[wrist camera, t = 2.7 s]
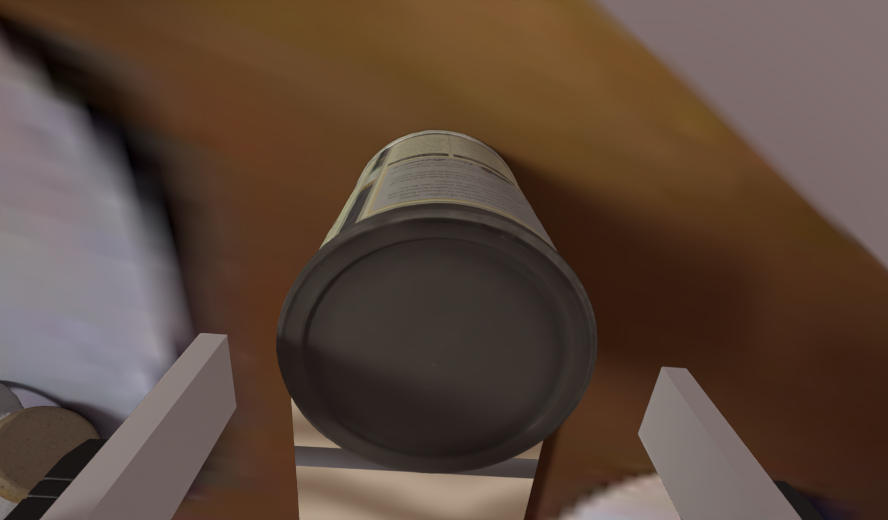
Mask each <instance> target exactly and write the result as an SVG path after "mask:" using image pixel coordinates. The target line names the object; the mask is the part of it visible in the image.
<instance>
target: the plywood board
mask: <svg viewBox="0 0 888 520" xmlns="http://www.w3.org/2000/svg"><path fill="white" fill-rule="evenodd" d="M291 400H292V415H293V429H294V444H295V446H294V447H295V461H296V473H297V487H298V502H299V516H300V520H524V516H525V512H526V508H527V504H528V500H529V496H530V492H531V488H532V484H533V480H534V477H535V473H536V469H537V464H538V459H539V455H540V451H541V447H542V443H543V441H542V442H540V443H539V444H537V445H535V446H534V447H532V448H530V449H529V450H527V451H525V452H523V453H522V454H520V455H518V456H516V457H513V458H511V459H509V460H507V461H504V462H501V463H498V464H495V465H492V466H489V467H485V468H481V469H477V470H471V471H463V472H458V473H441V474H429V473H416V472H407V471H401V470H396V469H391V468H387V467H384V466H380V465H378V464H375V463H372V462H370V461H367V460H365V459H362V458H360V457H358V456H356V455H354V454H352V453H350V452H348V451H346V450H344V449H342V448H340V447H339V446H338V445H336V444H335V443H333V442H332V441H331V440H329V439H327V438H326V437H324V435H323V434H321V433H320V432H319V431H317V430H316V429H315V428H314V427H313V426H312V425H311V424H310V422H309V421H308V420H307V419H306V418H305V417H304V416H303V415H302V413H301V412H300V410H299V409H298V407H297V406H296V405H295V403H294V401H293V399H292V397H291Z"/></svg>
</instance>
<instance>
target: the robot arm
mask: <svg viewBox="0 0 888 520" xmlns="http://www.w3.org/2000/svg"><path fill="white" fill-rule="evenodd" d="M235 409H236V400H235V393H234V385H233V377H232V370H231V362H230V354H229V347H228V339H227V335H221V334H207V333H200V334H199V335H198V337H197V338H196V339H195V340H194V341H193V342H192V344H191V345H190V346H189V347H188V348H187V349H186V351H185V352H184V353H183V354H182V355H181V356H180V358H179V359H178V360H177V361H176V362H175V363H174V364H173V366H172V367H171V368H170V369H169V370H168V371H167V373H166V374H165V375H164V376H163V377H162V378H161V380H160V381H159V382H158V383H157V384H156V385H155V387H154V388H153V389H152V390H151V391H150V392H149V393H148V395H147V396H146V397H145V398H144V399H143V400H142V402H141V403H140V404H139V405H138V406H137V407H136V409H135V410H134V411H133V412H132V413H131V414H130V416H129V417H128V418H127V419H126V420H125V421H124V422H123V424H122V425H121V426H120V427H119V428H118V429H117V431H116V432H115V433H114V434H113V435H112V436H111V438H110V439H109V440H105V439H88V440H86V441H85V442H83V443H82V444H80V445H79V446H77V447H76V448H74V449H73V450H71V451H70V452H68V453H67V454H65V455H64V456H63V457H62V458H61V459H60V460H59V461H58V462H57V463H56V464H55V465H54V466H53V468H52V469H51V470H50V471H49V472H48V473H47V474H46V475H45V476H44V479H43V481H39V482H38V483H37V485H36V486H35V487H34V488H33V489H32V490H31V491H30V492H29V493H28V496H27V498H26V499H22V501H21V502H20V503H19V504H18V505H17V506H16V507H15V508H14V509H13V510H12V511H11V512H10V513H9V514H8V515H7V516H6V518H5V519H4V520H171V518H172V517H173V515H174V513H175V512H176V510H177V508H178V506H179V505H180V503H181V501H182V500H183V498H184V496H185V494H186V493H187V491H188V489H189V488H190V486H191V484H192V482H193V481H194V479H195V477H196V475H197V474H198V472H199V470H200V469H201V467H202V465H203V463H204V462H205V460H206V458H207V457H208V455H209V453H210V451H211V450H212V448H213V446H214V445H215V443H216V441H217V439H218V438H219V436H220V434H221V433H222V431H223V429H224V427H225V426H226V424H227V422H228V421H229V419H230V417H231V415H232V414H233V412H234V410H235ZM638 435H639V437H640V439H641V441H642V443H643V445H644V447H645V449H646V451H647V453H648V455H649V457H650V459H651V461H652V463H653V465H654V466H655V468H656V470H657V472H658V474H659V476H660V478H661V480H662V482H663V484H664V486H665V488H666V490H667V492H668V494H669V496H670V498H671V500H672V502H673V504H674V506H675V508H676V510H677V512H678V514H679V516H680V518H681V520H824V519H823V518H822V517H821V515H820V514H819V513H818V512H817V511H816V509H815V508H814V507H813V506H812V504H811V503H810V502H809V501H808V500H807V499H806V498H805V497H803V496H802V495H801V494H800V493H799V492H797V491H796V490H795V489H794V488H792V487H791V486H790V485H789V484H788V483H786V482H783V481H772V480H771V478H770V477H769V476H768V475H767V473H766V472H765V471H764V469H763V468H762V467H761V465H760V464H759V463H758V461H757V460H756V459H755V458H754V456H753V455H752V454H751V452H750V451H749V450H748V448H747V447H746V446H745V444H744V443H743V442H742V441H741V439H740V438H739V437H738V435H737V434H736V433H735V431H734V430H733V429H732V427H731V426H730V425H729V424H728V422H727V421H726V420H725V418H724V417H723V416H722V414H721V413H720V412H719V410H718V409H717V408H716V407H715V405H714V404H713V403H712V401H711V400H710V399H709V397H708V396H707V395H706V394H705V392H704V391H703V390H702V388H701V387H700V386H699V384H698V383H697V382H696V380H695V379H694V378H693V377H692V375H691V374H690V373H689V371H688V370H687V369H686V368H673V367H662V368H661V371H660V373H659V376H658V379H657V382H656V385H655V387H654V390H653V393H652V396H651V399H650V402H649V404H648V407H647V410H646V413H645V416H644V418H643V421H642V424H641V427H640V430H639V433H638Z"/></svg>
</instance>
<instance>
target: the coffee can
mask: <svg viewBox="0 0 888 520" xmlns="http://www.w3.org/2000/svg"><path fill="white" fill-rule="evenodd" d="M597 345H598V339H597V326H596V320H595V315H594V311H593V308H592V305H591V302H590V300H589V297H588V295H587V292H586V291H585V289H584V287H583V285H582V283H581V282H580V280H579V278H578V276H577V275H576V274H575V272H574V271H573V269H572V268H571V267H570V266H569V265H568V263H567V262H566V261H565V260H564V259H563V257H562V256H561V255H560V254H559V253H558V252H557V250H556V248H555V247H554V245H553V243H552V241H551V240H550V238H549V236H548V235H547V233H546V231H545V230H544V228H543V226H542V225H541V223H540V221H539V220H538V218H537V216H536V215H535V213H534V211H533V209H532V207H531V206H530V204H529V203H528V201H527V199H526V198H525V196H524V194H523V193H522V191H521V189H520V188H519V186H518V184H517V181H516V179H515V177H514V175H513V173H512V171H511V170H510V168H509V167H508V166H507V164H506V163H505V161H504V160H503V159H502V158H501V157H500V156H499V155H498V154H497V153H496V152H495V151H494V150H493V149H491V148H490V147H488V146H487V145H485V144H484V143H482V142H481V141H479V140H477V139H475V138H472V137H470V136H467V135H465V134H461V133H457V132H452V131H442V130H426V131H422V132H418V133H412V134H409V135H407V136H404V137H401V138H399V139H397V140H395V141H393V142H392V143H390V144H388V145H387V146H385V147H384V148H383V149H382V150H380V151H379V152H378V153H377V154H376V155H375V156H374V157H373V158H372V159H371V160H370V161H369V162H368V164H367V166H366V167H365V169H364V170H363V172H362V174H361V176H360V178H359V180H358V183H357V185H356V187H355V189H354V191H353V192H352V194H351V196H350V198H349V199H348V201H347V203H346V205H345V206H344V208H343V210H342V212H341V213H340V215H339V217H338V218H337V220H336V221H335V223H334V225H333V226H332V228H331V230H330V231H329V233H328V235H327V236H326V238H325V240H324V242H323V244H322V246H321V247H320V249H319V250H318V252H317V253H316V254H315V255H314V256H313V257H312V258H311V259H310V260H309V262H308V263H307V264H306V266H305V267H304V268H303V269H302V271H301V272H300V274H299V275H298V277H297V278H296V280H295V282H294V283H293V285H292V287H291V289H290V291H289V292H288V294H287V296H286V299H285V301H284V304H283V307H282V310H281V314H280V317H279V322H278V326H277V338H276V351H277V357H278V363H279V367H280V371H281V374H282V377H283V380H284V383H285V385H286V387H287V390H288V392H289V394H290V396H291V397H292V399H293V401H294V403H295V405H296V406H297V407H298V409H299V410H300V412H301V413H302V415H303V416H304V417H305V418H306V419H307V420H308V421H309V422H310V424H311V425H312V426H313V427H314V428H315V429H316V430H317V431H319V432H320V433H321V434H323V435H324V437H326V438H327V439H329V440H331V441H332V442H333V443H335V444H336V445H338V446H339V447H340V448H342V449H344V450H346V451H348V452H350V453H352V454H354V455H356V456H358V457H360V458H362V459H365V460H367V461H370V462H372V463H375V464H378V465H380V466H384V467H387V468H391V469H396V470H401V471H407V472H416V473H429V474H441V473H458V472H463V471H471V470H477V469H481V468H485V467H489V466H492V465H495V464H498V463H501V462H504V461H507V460H509V459H511V458H513V457H516V456H518V455H520V454H522V453H523V452H525V451H527V450H529V449H530V448H532V447H534V446H535V445H537V444H539V443H540V442H542V441H543V440H545V439H546V438H547V437H548V436H549V435H551V434H552V433H553V432H554V431H555V430H556V429H557V428H559V427H560V426H561V425H562V423H563V422H564V421H565V420H566V419H567V418H568V417H569V416H570V415H571V413H572V412H573V411H574V409H575V408H576V407H577V406H578V404H579V402H580V400H581V399H582V397H583V395H584V393H585V391H586V390H587V387H588V385H589V383H590V380H591V377H592V374H593V370H594V366H595V362H596V356H597Z"/></svg>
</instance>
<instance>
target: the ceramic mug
mask: <svg viewBox="0 0 888 520" xmlns="http://www.w3.org/2000/svg"><path fill="white" fill-rule="evenodd" d="M88 439H100V437H99V435H98V433H97V432H96V430H95V428H94V427H93V426H92V424H91V423H90V422H89V421H87V420H86V419H85V418H84V417H82V416H81V415H79V414H77V413H75V412H72V411H70V410H67V409H64V408H60V407H53V406H38V407H31V408H26V409H24V407H23V406H22V404H21V402H20V400H19V399H18V397H17V396H16V395H15V394H14V393H13V392H12V391H11V390H10V389H9V388H7V386H5V385H3V384H1V383H0V520H4V519H5V518H6V516H7V515H8V514H9V513H10V512H11V511H12V510H13V509H14V508H15V507H16V506H17V505H18V504H19V503H20V502H21V501H22V499H26V498H27V496H28V493H29V492H30V491H31V490H32V489H33V488H34V487H35V486H36V485H37V483H38V482H39V481H43V479H44V476H45V475H46V474H47V473H48V472H49V471H50V470H51V469H52V468H53V466H54V465H55V464H56V463H57V462H58V461H59V460H60V459H61V458H62V457H63V456H64V455H65V454H67V453H68V452H70V451H71V450H73V449H74V448H76V447H77V446H79V445H80V444H82V443H83V442H85V441H86V440H88Z"/></svg>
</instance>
